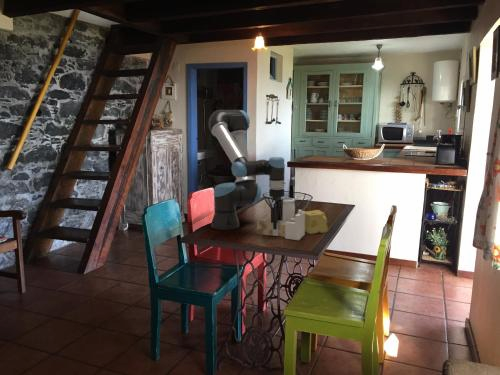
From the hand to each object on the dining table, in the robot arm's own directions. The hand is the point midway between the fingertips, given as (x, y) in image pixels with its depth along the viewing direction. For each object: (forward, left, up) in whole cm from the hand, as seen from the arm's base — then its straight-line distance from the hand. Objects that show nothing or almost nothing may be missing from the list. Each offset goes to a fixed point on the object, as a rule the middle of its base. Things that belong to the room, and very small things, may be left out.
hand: (276, 234), depth 212 cm
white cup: (-2, +19, -1) cm, 19 cm away
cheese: (+15, +14, -1) cm, 21 cm away
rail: (0, 0, 0) cm, 0 cm away
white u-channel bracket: (+10, 0, 0) cm, 10 cm away
